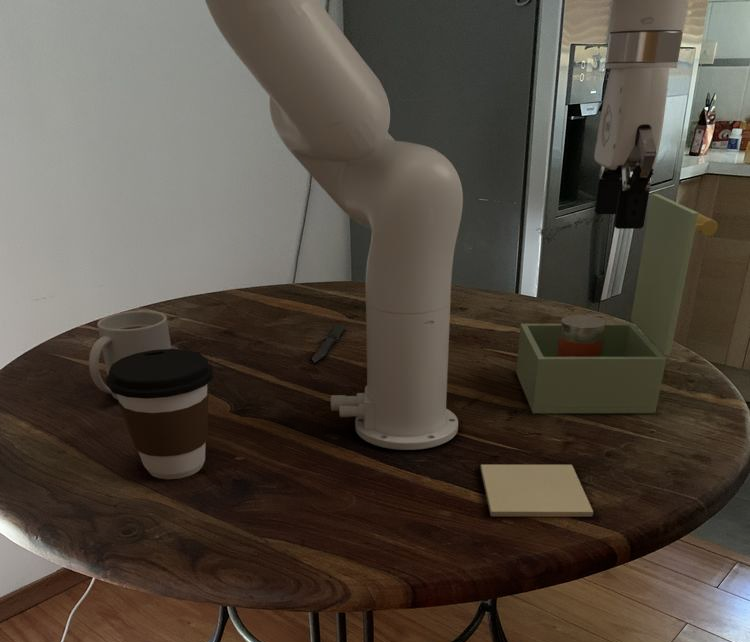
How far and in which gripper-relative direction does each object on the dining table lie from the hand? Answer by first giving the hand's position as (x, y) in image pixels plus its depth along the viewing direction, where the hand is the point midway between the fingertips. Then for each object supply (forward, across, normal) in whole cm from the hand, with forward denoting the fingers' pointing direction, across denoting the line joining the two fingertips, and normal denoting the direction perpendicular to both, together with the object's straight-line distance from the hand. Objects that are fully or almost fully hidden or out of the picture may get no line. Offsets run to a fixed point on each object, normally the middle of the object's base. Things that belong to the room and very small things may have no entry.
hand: (617, 220), depth 88 cm
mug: (+23, 0, -62) cm, 66 cm away
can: (+22, -1, -2) cm, 22 cm away
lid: (+6, -1, +6) cm, 9 cm away
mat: (+22, +26, -12) cm, 37 cm away
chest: (+22, -1, -1) cm, 22 cm away
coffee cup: (+23, +21, -51) cm, 60 cm away
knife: (+22, -21, -37) cm, 48 cm away
